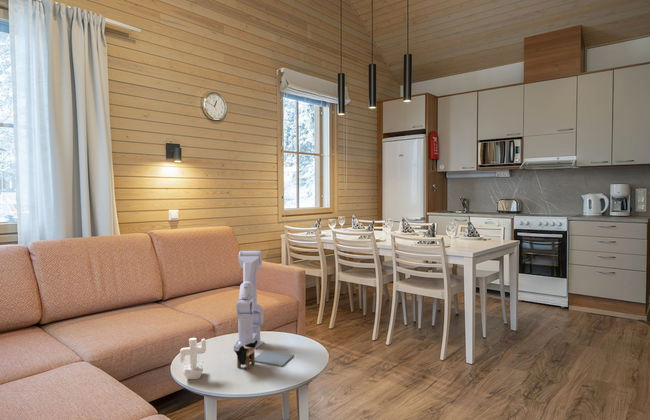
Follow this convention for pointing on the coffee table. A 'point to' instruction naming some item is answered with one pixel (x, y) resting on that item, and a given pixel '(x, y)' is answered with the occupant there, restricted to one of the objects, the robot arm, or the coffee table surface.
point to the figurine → (193, 359)
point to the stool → (252, 360)
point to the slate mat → (273, 358)
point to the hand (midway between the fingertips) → (246, 361)
